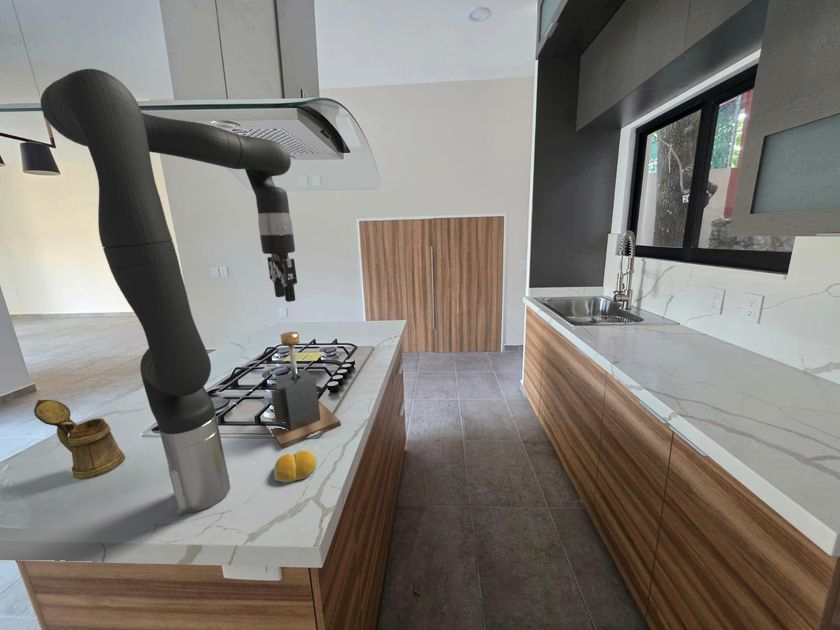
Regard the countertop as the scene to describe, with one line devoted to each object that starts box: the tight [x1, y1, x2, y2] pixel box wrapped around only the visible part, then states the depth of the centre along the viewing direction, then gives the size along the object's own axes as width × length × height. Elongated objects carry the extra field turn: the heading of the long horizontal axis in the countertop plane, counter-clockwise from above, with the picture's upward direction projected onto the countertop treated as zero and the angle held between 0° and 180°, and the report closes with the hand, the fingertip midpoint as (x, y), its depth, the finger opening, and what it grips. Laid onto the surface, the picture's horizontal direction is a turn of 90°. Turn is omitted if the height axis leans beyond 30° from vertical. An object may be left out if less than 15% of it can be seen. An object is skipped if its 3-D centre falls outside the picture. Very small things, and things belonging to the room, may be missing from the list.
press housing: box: [270, 369, 321, 431], centre depth 93 cm, size 10×8×13 cm
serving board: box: [271, 400, 342, 450], centre depth 96 cm, size 16×16×2 cm
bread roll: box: [274, 450, 318, 484], centre depth 77 cm, size 8×9×4 cm
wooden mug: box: [33, 399, 126, 480], centre depth 79 cm, size 9×14×18 cm, turn 93°
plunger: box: [280, 331, 300, 380], centre depth 91 cm, size 6×6×14 cm
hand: (285, 298), depth 87 cm, fingers open, 8 cm apart
